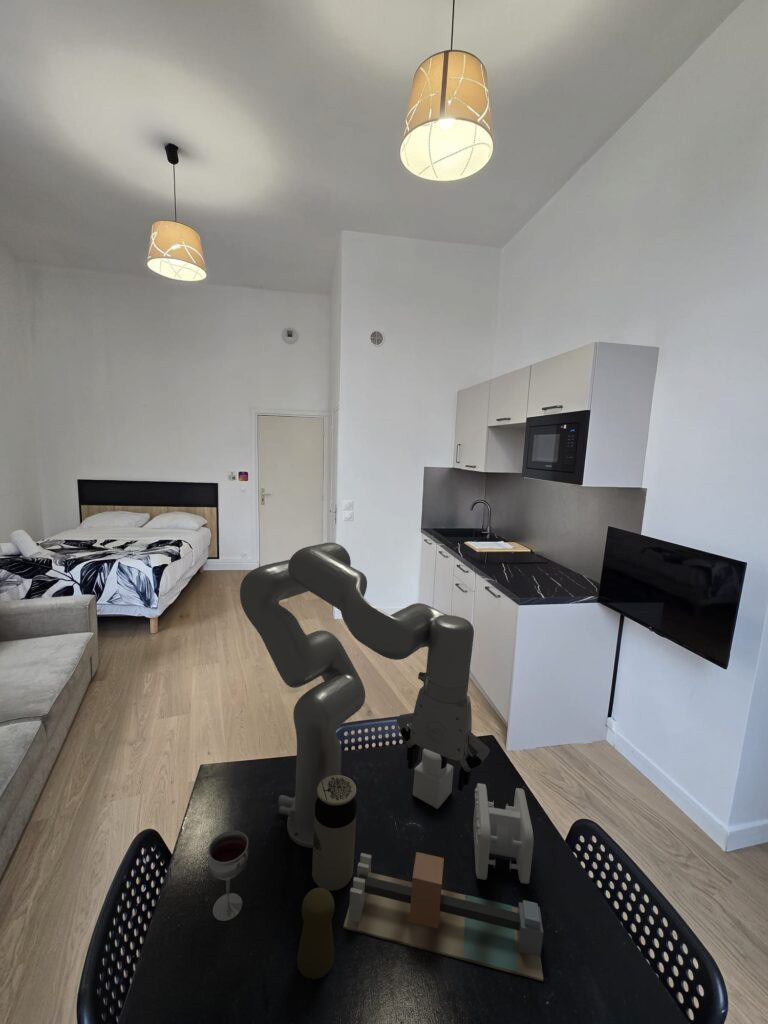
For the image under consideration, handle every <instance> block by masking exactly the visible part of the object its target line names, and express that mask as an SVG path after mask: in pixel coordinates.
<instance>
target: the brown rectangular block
mask: <svg viewBox="0 0 768 1024" xmlns="http://www.w3.org/2000/svg"><path fill="white" fill-rule="evenodd" d="M444 859H445V858H444V857H440V856H435V855H432V854H427V853H423V852H418V851H416V852H415V859H414V866H413V871H412V872H413V873H412V879H411V882H412V891H411V905H410V918H409V922H413V923H417V924H421V925H425V926H429V927H433V928H437V929H438V923H439V911H440V899H441V889H442V887H443V873H444V861H445V860H444Z"/></svg>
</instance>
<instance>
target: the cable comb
mask: <svg viewBox="0 0 768 1024" xmlns="http://www.w3.org/2000/svg"><path fill="white" fill-rule="evenodd" d="M371 873H372V854H367V853H364V852H361V853H360V860H359V862H358V864H357V869H356V876H354V877H353V882H352V887H351V888H350V890H349V905H348V908H349V916H348V919H349V920H352V921H356V922H360V918H361V914H362V910H363V906H364V902H365V898H366V894H367V893H365V892H364V891H365V879H361V878H359V875H363V876H367V877H370V876H371Z"/></svg>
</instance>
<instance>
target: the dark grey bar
mask: <svg viewBox="0 0 768 1024" xmlns="http://www.w3.org/2000/svg"><path fill="white" fill-rule="evenodd" d="M359 878H361V879H365V891H364V892H365V893H369V894H373V895H377V896H381V897H385V898H389V899H393V900H397V901H401V902H405V903H409V904H411V891H412V887H408V886H404V885H400V884H396V883H392V882H387V881H383V880H379V879H375V878H371V877H367V876H363V875H359ZM440 911H441V912H445V913H449V914H453V915H458V916H462V917H466V918H470V919H474V920H478V921H482V922H486V923H490V924H494V925H498V926H502V927H506V928H510V929H514V930H518V931H519V928H520V917H519V913H516V912H512V911H508V910H503V909H499V908H495V907H491V906H487V905H483V904H479V903H474V902H470V901H466V900H462V899H458V898H454V897H450V896H445V895H441V899H440Z"/></svg>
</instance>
